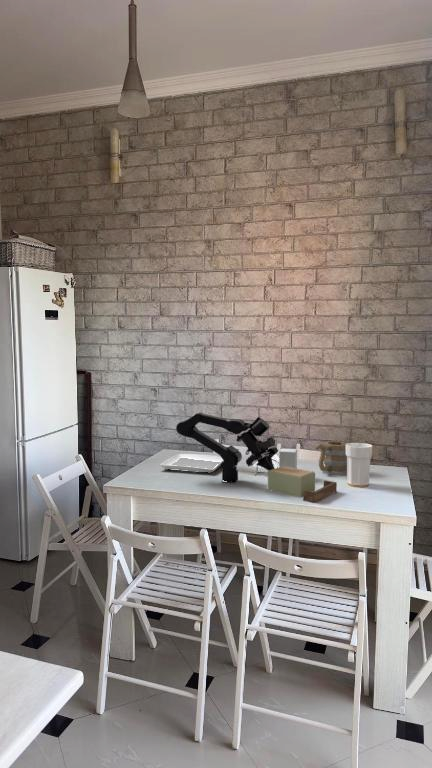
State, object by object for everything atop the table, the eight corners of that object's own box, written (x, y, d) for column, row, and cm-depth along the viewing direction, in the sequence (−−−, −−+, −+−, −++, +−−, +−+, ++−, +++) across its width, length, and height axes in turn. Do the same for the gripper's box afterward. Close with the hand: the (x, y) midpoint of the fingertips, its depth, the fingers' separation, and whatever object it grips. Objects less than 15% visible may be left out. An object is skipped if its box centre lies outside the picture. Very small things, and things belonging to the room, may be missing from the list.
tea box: (267, 490, 234) (268, 470, 233) (282, 484, 242) (282, 465, 242) (300, 497, 224) (301, 476, 223) (314, 491, 232) (315, 471, 231)
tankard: (336, 468, 274) (336, 437, 273) (355, 473, 263) (356, 441, 262) (305, 473, 263) (305, 441, 262) (324, 479, 253) (324, 446, 251)
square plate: (158, 472, 266) (158, 463, 266) (179, 460, 292) (179, 452, 292) (213, 476, 258) (213, 468, 258) (229, 463, 284) (229, 456, 284)
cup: (352, 488, 236) (353, 448, 235) (339, 482, 247) (340, 443, 246) (376, 486, 239) (377, 446, 238) (362, 480, 250) (363, 442, 249)
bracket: (303, 500, 219) (303, 490, 219) (324, 489, 235) (324, 480, 234) (315, 502, 216) (315, 492, 216) (336, 491, 232) (336, 482, 231)
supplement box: (297, 475, 258) (297, 448, 257) (295, 479, 251) (295, 452, 250) (281, 474, 260) (281, 447, 259) (278, 478, 253) (279, 451, 252)
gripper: (252, 434, 232) (275, 464, 226) (274, 428, 247) (296, 456, 241) (236, 451, 237) (258, 480, 231) (259, 444, 252) (280, 472, 247)
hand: (274, 471), depth 238 cm, fingers closed
